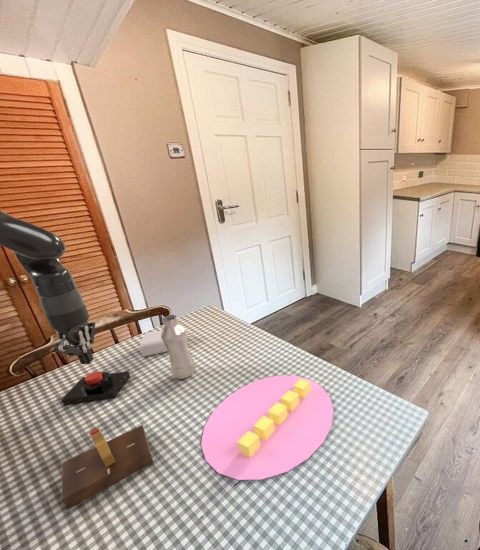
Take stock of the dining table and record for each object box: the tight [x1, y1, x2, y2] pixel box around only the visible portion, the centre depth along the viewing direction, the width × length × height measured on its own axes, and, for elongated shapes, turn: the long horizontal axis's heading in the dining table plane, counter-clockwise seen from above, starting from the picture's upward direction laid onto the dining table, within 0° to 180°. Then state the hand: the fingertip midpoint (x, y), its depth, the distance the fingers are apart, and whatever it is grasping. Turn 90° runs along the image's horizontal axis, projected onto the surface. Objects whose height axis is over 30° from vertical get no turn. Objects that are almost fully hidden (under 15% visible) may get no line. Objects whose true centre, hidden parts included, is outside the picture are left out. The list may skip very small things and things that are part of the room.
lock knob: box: [89, 427, 115, 467], centre depth 63 cm, size 6×2×6 cm, turn 52°
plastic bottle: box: [161, 314, 197, 380], centre depth 89 cm, size 6×7×20 cm
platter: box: [200, 375, 334, 481], centre depth 77 cm, size 32×32×3 cm
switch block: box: [61, 370, 131, 407], centre depth 86 cm, size 12×9×4 cm
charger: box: [139, 329, 194, 358], centre depth 106 cm, size 5×9×15 cm
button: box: [84, 371, 103, 385], centre depth 85 cm, size 4×4×2 cm
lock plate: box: [61, 424, 155, 510], centre depth 65 cm, size 14×10×3 cm
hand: (87, 362), depth 84 cm, fingers closed
